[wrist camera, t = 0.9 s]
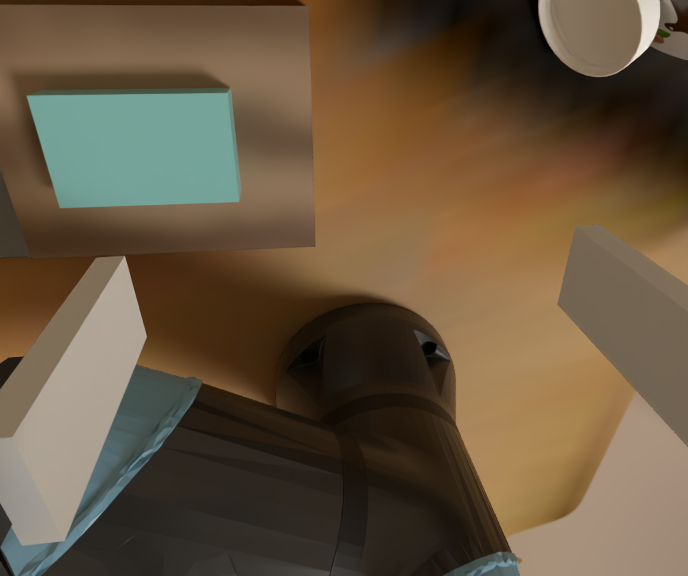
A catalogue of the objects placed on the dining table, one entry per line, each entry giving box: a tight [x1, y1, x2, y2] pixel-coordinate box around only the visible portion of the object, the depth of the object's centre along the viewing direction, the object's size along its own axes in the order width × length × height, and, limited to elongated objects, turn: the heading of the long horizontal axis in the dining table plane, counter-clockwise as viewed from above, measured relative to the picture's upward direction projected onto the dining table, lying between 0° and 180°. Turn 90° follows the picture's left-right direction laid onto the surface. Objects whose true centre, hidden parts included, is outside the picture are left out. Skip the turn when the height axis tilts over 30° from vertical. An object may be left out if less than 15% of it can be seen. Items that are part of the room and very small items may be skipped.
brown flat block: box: [0, 5, 315, 259], centre depth 30 cm, size 14×18×3 cm
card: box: [27, 88, 241, 208], centre depth 28 cm, size 6×10×2 cm, turn 90°
